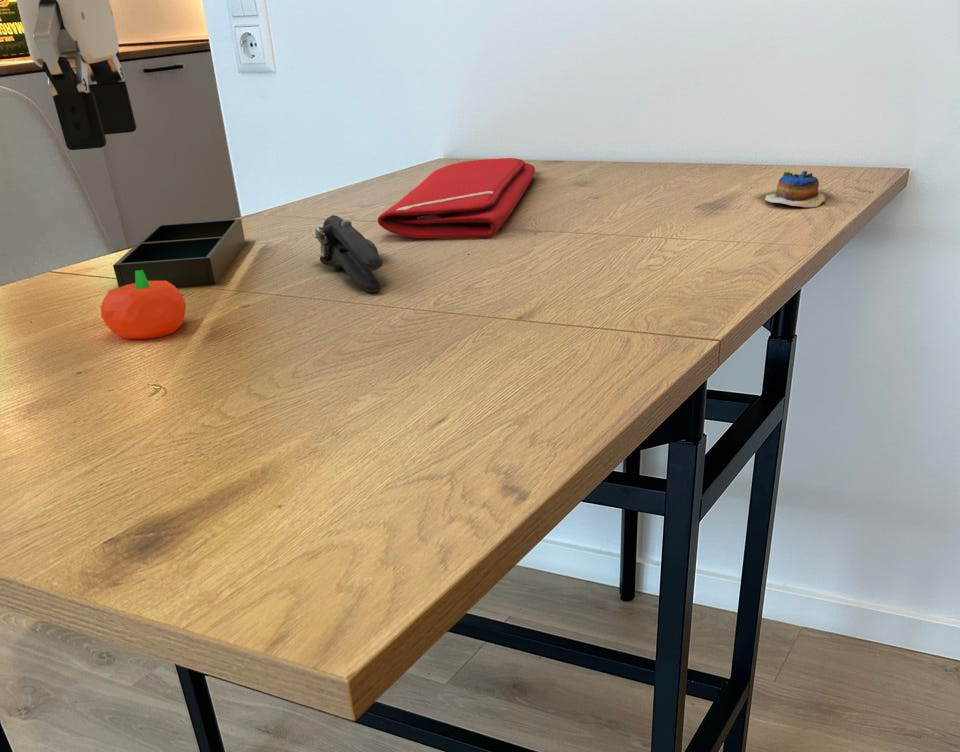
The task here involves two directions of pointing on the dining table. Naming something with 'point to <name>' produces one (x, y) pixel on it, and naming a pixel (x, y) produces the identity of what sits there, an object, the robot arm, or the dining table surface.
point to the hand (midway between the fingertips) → (104, 140)
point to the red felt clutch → (461, 200)
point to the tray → (183, 253)
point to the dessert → (797, 190)
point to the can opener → (349, 252)
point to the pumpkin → (143, 309)
